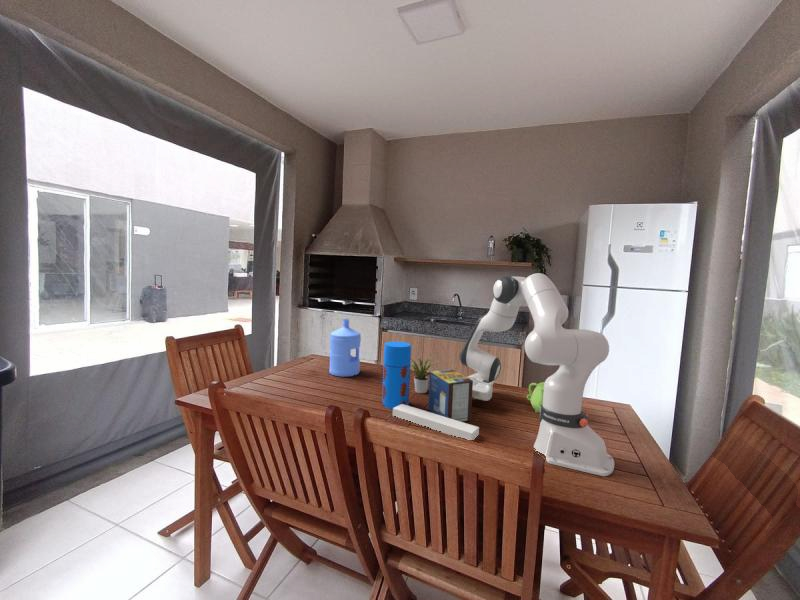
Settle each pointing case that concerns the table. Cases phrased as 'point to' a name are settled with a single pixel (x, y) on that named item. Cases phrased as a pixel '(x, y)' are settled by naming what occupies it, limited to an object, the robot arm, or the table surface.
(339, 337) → the water jug
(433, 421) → the board
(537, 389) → the teapot
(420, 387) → the house plant
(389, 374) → the thermos
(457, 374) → the protein box
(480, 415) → the table surface
